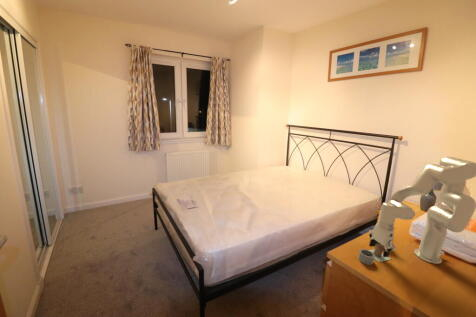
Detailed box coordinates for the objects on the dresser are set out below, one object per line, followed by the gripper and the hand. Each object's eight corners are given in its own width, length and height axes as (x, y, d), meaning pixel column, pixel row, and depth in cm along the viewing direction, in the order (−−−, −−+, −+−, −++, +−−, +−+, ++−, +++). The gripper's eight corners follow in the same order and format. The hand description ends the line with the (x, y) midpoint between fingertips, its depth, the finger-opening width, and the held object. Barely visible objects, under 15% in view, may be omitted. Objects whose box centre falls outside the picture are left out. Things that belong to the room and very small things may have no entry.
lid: (375, 249, 136) (378, 240, 135) (390, 260, 128) (393, 249, 126) (364, 252, 133) (366, 242, 132) (378, 262, 124) (381, 252, 123)
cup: (365, 255, 129) (367, 248, 128) (376, 264, 122) (377, 257, 121) (355, 256, 127) (356, 249, 126) (364, 265, 121) (366, 258, 120)
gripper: (404, 232, 119) (396, 260, 122) (378, 216, 135) (371, 242, 139) (393, 233, 117) (385, 261, 121) (367, 217, 133) (361, 242, 137)
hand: (378, 251), depth 130 cm, fingers open, 9 cm apart
